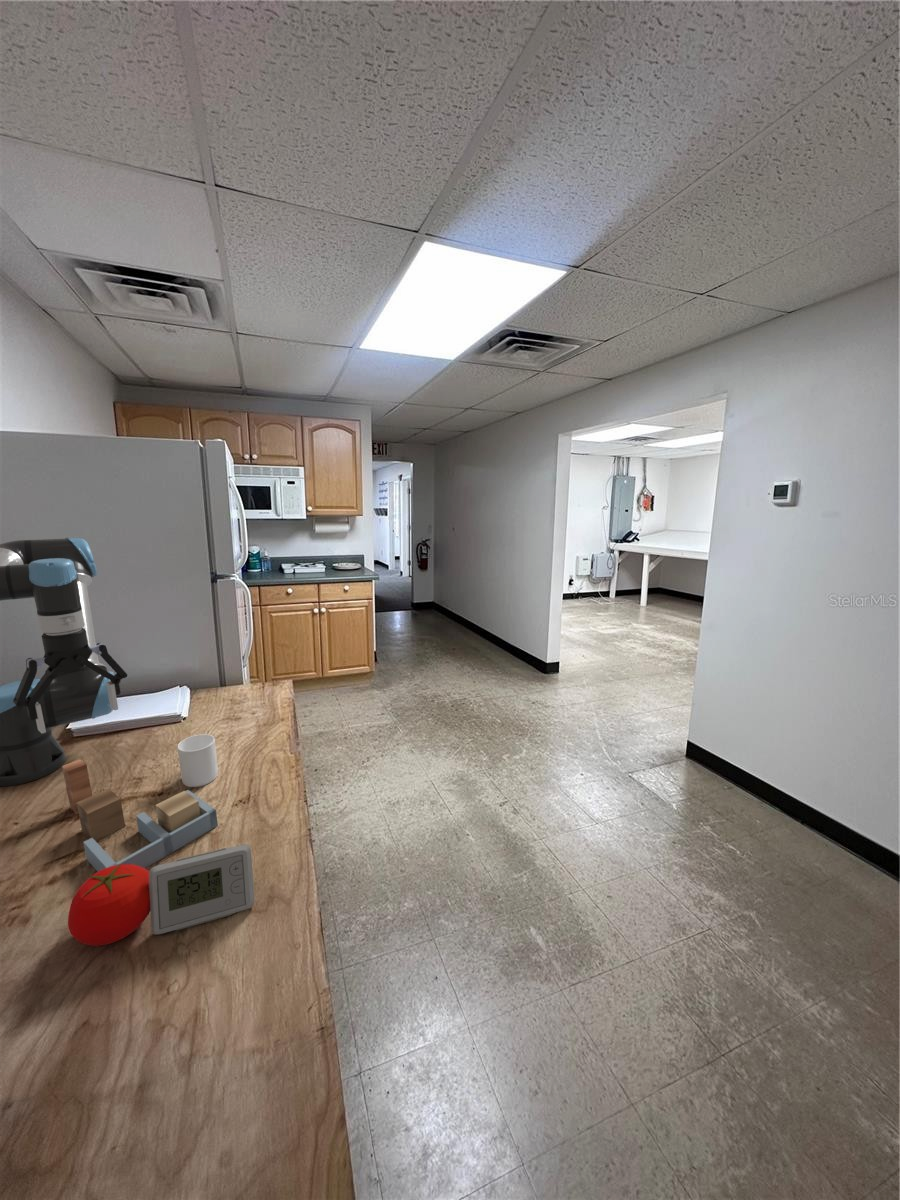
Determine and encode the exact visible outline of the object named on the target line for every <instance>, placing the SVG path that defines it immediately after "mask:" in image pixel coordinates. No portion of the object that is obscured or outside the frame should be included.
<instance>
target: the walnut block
mask: <svg viewBox="0 0 900 1200" xmlns="http://www.w3.org/2000/svg"><path fill="white" fill-rule="evenodd" d="M61 769H62V772H63V779H64V784H65V789H66V794H67V798H68V804H69V808H70V809H71V811H73V813H74V814H75V815H78V817H79V822H80V828H81V832H82V833H84V835H85V836H86V837H87V838H88V839H90V838H93V839H94V840H95V841H96V842H97V841H99V840H101V839H104V838H105V837H108V836H109V835H111V834H113V833H115V832H118V831H119V830H122V829H123V828H125V827H126V823H125V822H126V821H125V817H124V812H123V811H124V810H123V806H122V799H121V798H120V797H119V796H118V795H117V794H116V793H115V792H113V791H112V790H111V788H107V789H104V790H103V791H100V792H98V793H96V794H93V793H92V786H91V782H90V781H91V780H90V776H89V771H88V765H87V763H86V762H85V761H84V760H82V759H76V760H75V761H72V762H69V763H67V764H63V765H62V766H61Z"/></svg>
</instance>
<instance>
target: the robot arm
mask: <svg viewBox="0 0 900 1200" xmlns="http://www.w3.org/2000/svg"><path fill="white" fill-rule="evenodd" d="M95 576H98V570H97V566H96V563H95V561H94V556H93V552H92V549H91V547H90V545H89V543H88V541H86V540H85V539H83V538H79V537H78V538H77V537H76V538H75V537H73V538H72V537H71V538H70V537H65V538H52V539H51V538H46V539H18V540H11V541H7V542H3V543H0V601H1V602H2V601H9V600H24V599H34V603H35V607H36V614H37V619H38V626H39V629H40V630H39V631H40V633H43V634H42V635H41V640H42V647H43V651H44V655H43V657H39V658H38V657H37V658H33V657H28V658H27V659H26V661H25V662H26V663H25V665H26V667H25V668H26V669H25V672H24V674H23V676H22V678H21V679H19V680H16V681H12V682H9V683H6V684H4V685H3V684H2V686H0V787H9V786H16V785H21V784H26V783H29V782H32V781H33V782H34V781H36V780H38V779H41V778H43V777H45V776H48V775H50V774H52V773H53V772H55V771H56V770H58V769H59V768H62V766H64V765H65V762H66V760H67V758H66V752H65V750H64V748H63V747H62V745H61V744H60V743H59V742H58V740H57V738H56V736H54V735H53V732H52V728H54V727H58V726H64V725H68V724H73V723H77V722H82V721H85V720H86V721H87V720H90V719H92V720H94V719H96V718H99V717H102V716H103V717H104V716H107V715H109V714H111V713H112V712H113V711H118V710H119V705H118V699H117V696H119V695H120V694H121V687H120V683H121V680H123V679H126V678H127V677H128V673H127V672H126V671H125V670H124V669H123V668H122V667H121V666H120V665H119V663H118V662H117V661H116V660H115V659H114V658H113V657H112V656H111V655H110V654H109V652H108V649H107V646H106V645H105V644H104V643H101V642H98V643H97V642H96V636H95V628H94V624H93V623H94V622H93V616H92V610H91V604H90V598H89V591H88V587H89V586H90V585H91V584H92V583H93V578H94V577H95ZM99 657H101V658H102V659H103V661H105V662H106V664H107V665H108V666H109V667H110V668H111V669H112V670H113V671H110V670H109V671H108V669H107V665H105V664H103V663H101V662H100V661H99ZM44 664H45V665H47V666H48V667H47V668H46V670H45V671H44V674H43V675H42V677H41V678H35V677H36V675H37V672H38V669H40V668H41V666H42V665H44Z"/></svg>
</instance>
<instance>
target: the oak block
mask: <svg viewBox="0 0 900 1200" xmlns="http://www.w3.org/2000/svg"><path fill="white" fill-rule="evenodd" d="M186 791H187V790H183V791H181V792H178V793H176V794H175V795H173V796H171V797H169V798H167V799H165V800H162V801H161V802H159V803H157V804H155V809H156V817H157V824H158V825H160V826H161V827H162V828H163V829H164V830H165V831H167V832H168V833H171V832H173V831H174V830H176V829H178V828H180V827H182V826H183V825H185V824H187V823H189V822H191V821H192V820H194V819H196V818H198V817H200V809H199V801H198V800H197V799H195V798H194V797H192V796H191V795H190V794H188V793H187V792H186Z"/></svg>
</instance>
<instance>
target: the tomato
mask: <svg viewBox="0 0 900 1200" xmlns="http://www.w3.org/2000/svg"><path fill="white" fill-rule="evenodd" d="M149 871H150V870H148V869H147V868H143V867H140V866H137V865H132V864H125V865H121V864H120V865H115V866H111V867H108V868H105V869H103V870H100V871H99V872H98V871H97V872H95V873H94V874H92V875H89V876H88V877H89V878H87V879H86V881H84V882H83V884H81V885H80V887H79V888H78V889H77V891H76V892H75V894H74V896H73V898H72V900H71V903H70V907H69V911H68V917H67V926H68V930H69V933H70V935H71V936H72V938H73V939H74V940H75V941H78V942H79V943H81V944H84V945H87V946H93V947H94V946H96V947H101V946H105V945H109V944H113V943H115V942H118V941H121V940H123V939H124V938H125V937H127V936H129V935H130V934H132V933H133V932H135V930H136V929H137V928H139V927H140V926H141V925H142V924H143V922H144V921H145V920H146V919H147V917H148V916H149V915H150V895H149Z"/></svg>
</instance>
